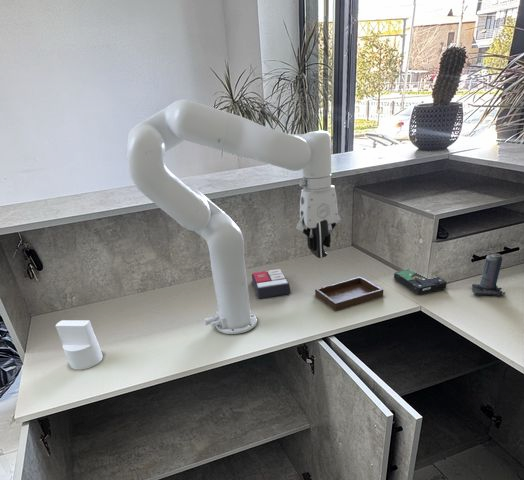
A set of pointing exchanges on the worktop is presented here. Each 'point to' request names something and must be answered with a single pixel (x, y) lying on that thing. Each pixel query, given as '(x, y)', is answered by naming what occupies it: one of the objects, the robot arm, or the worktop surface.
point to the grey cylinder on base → (489, 277)
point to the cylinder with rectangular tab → (79, 343)
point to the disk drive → (419, 282)
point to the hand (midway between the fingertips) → (319, 247)
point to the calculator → (270, 283)
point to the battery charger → (320, 238)
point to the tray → (348, 293)
